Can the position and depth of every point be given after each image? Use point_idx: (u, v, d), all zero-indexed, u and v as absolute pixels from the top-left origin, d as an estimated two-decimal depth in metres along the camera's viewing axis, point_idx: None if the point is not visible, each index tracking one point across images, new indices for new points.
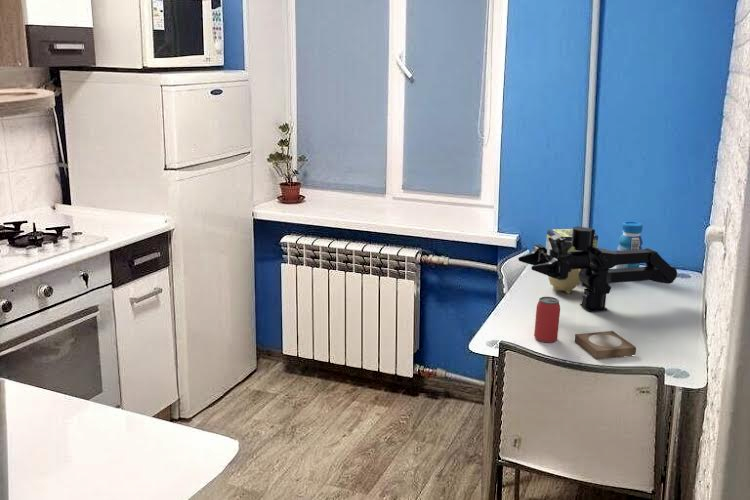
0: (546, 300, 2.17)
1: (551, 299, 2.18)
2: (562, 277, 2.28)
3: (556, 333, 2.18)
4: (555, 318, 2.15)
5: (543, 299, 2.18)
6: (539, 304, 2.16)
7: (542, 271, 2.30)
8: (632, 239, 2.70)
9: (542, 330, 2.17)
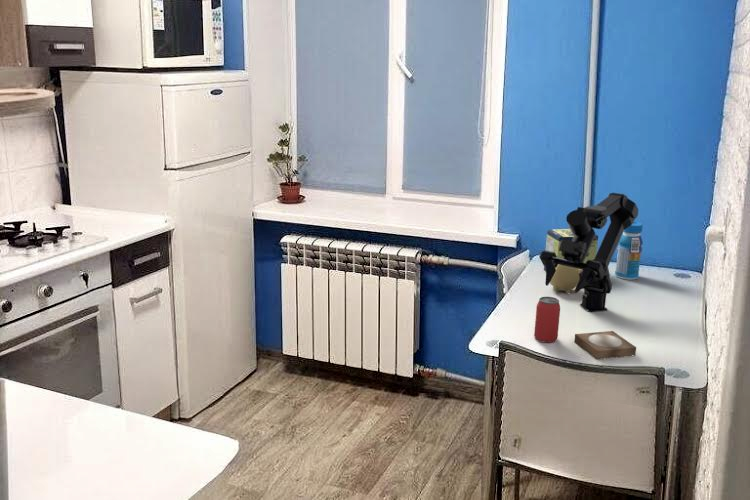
0: (546, 300, 2.17)
1: (551, 299, 2.18)
2: (602, 276, 2.21)
3: (556, 333, 2.18)
4: (555, 318, 2.15)
5: (543, 299, 2.18)
6: (539, 304, 2.16)
7: (584, 285, 2.21)
8: (632, 239, 2.70)
9: (542, 330, 2.17)
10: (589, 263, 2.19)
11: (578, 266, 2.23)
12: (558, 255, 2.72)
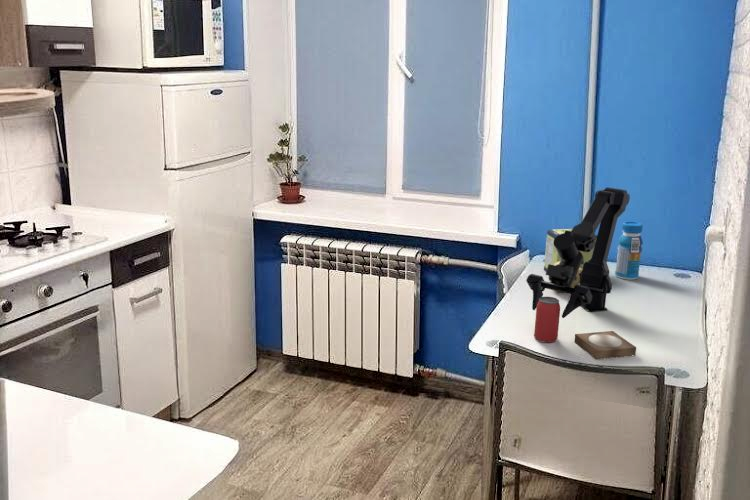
0: (546, 300, 2.17)
1: (551, 299, 2.18)
2: (590, 301, 2.17)
3: (556, 333, 2.18)
4: (555, 318, 2.15)
5: (543, 299, 2.18)
6: (539, 304, 2.16)
7: (571, 310, 2.16)
8: (632, 239, 2.70)
9: (542, 330, 2.17)
10: (576, 288, 2.15)
11: (565, 290, 2.19)
12: (558, 255, 2.72)
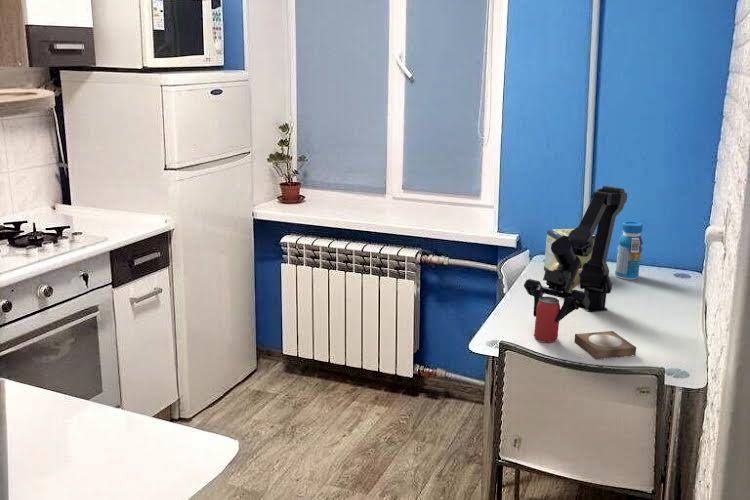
0: (546, 300, 2.17)
1: (551, 299, 2.18)
2: (588, 306, 2.16)
3: (556, 333, 2.18)
4: (555, 318, 2.15)
5: (543, 299, 2.18)
6: (539, 304, 2.16)
7: (565, 314, 2.17)
8: (632, 239, 2.70)
9: (542, 330, 2.17)
10: (574, 293, 2.14)
11: (559, 295, 2.19)
12: None
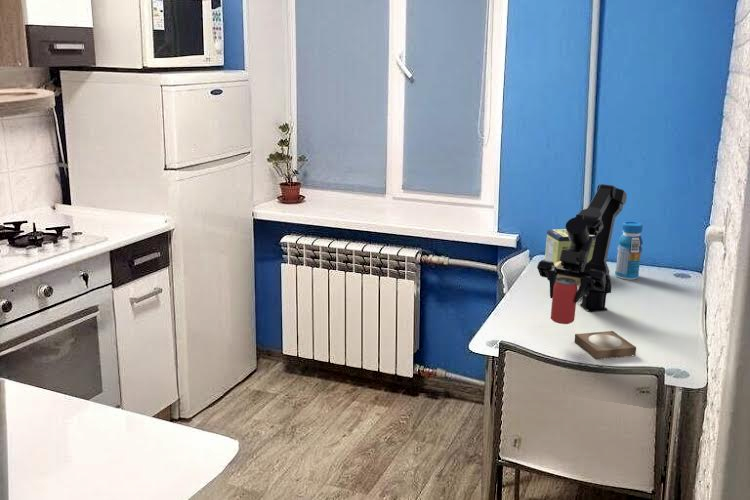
0: (563, 281, 2.13)
1: (567, 280, 2.14)
2: (604, 285, 2.13)
3: (574, 314, 2.14)
4: (573, 299, 2.12)
5: (559, 280, 2.14)
6: (556, 285, 2.12)
7: (582, 294, 2.13)
8: (632, 239, 2.70)
9: (561, 311, 2.12)
10: (592, 272, 2.11)
11: (575, 275, 2.15)
12: (558, 255, 2.72)
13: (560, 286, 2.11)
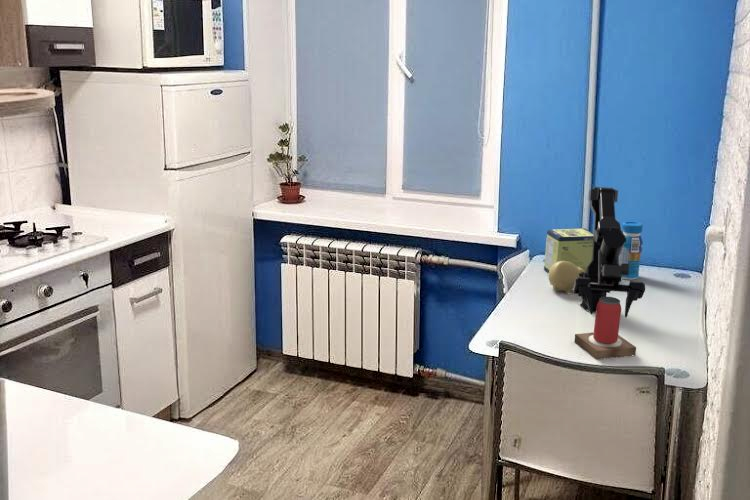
0: (607, 301, 2.10)
1: (609, 299, 2.12)
2: None
3: (618, 332, 2.12)
4: (619, 317, 2.10)
5: (603, 300, 2.11)
6: (603, 306, 2.09)
7: None
8: (632, 239, 2.70)
9: (609, 332, 2.09)
10: (634, 284, 2.10)
11: (617, 289, 2.13)
12: (558, 255, 2.72)
13: (608, 306, 2.08)
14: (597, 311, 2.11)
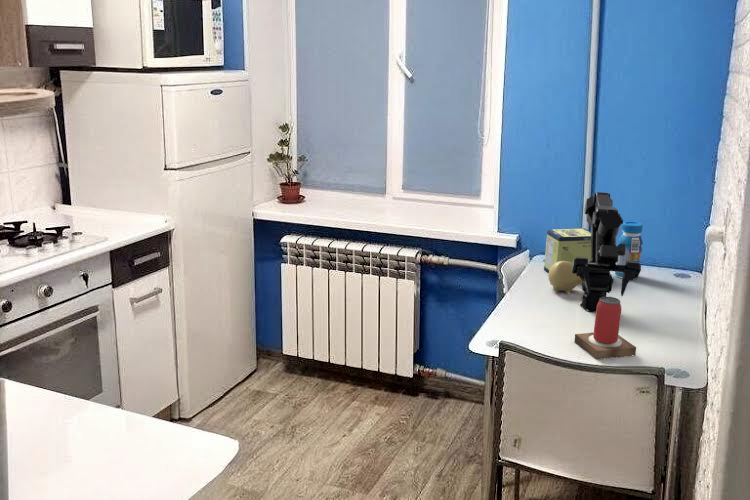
0: (607, 300, 2.10)
1: (609, 299, 2.12)
2: None
3: (618, 332, 2.12)
4: (619, 317, 2.10)
5: (603, 300, 2.11)
6: (604, 306, 2.09)
7: None
8: (632, 239, 2.70)
9: (609, 332, 2.09)
10: (630, 264, 2.18)
11: (614, 269, 2.21)
12: (558, 255, 2.72)
13: (608, 306, 2.08)
14: (597, 311, 2.11)
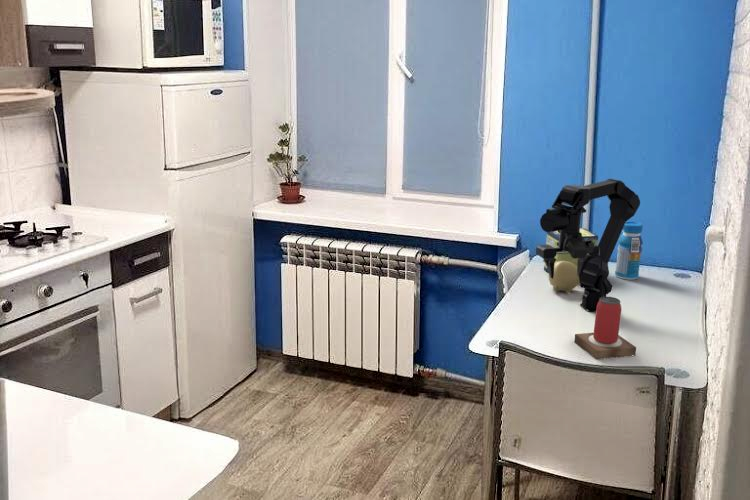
0: (607, 300, 2.10)
1: (609, 299, 2.12)
2: None
3: (618, 332, 2.12)
4: (619, 317, 2.10)
5: (603, 300, 2.11)
6: (604, 306, 2.09)
7: None
8: (632, 239, 2.70)
9: (609, 332, 2.09)
10: (591, 252, 2.30)
11: None
12: (558, 255, 2.72)
13: (608, 306, 2.08)
14: (597, 311, 2.11)
